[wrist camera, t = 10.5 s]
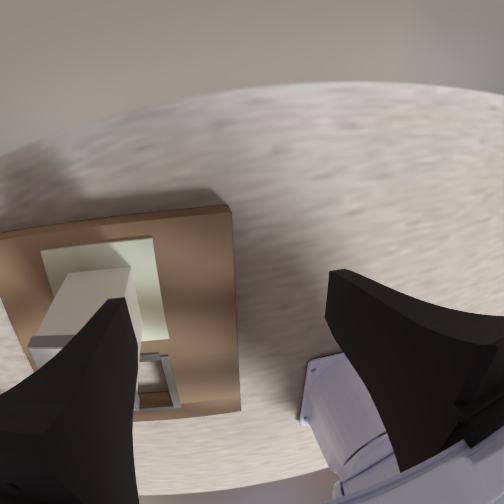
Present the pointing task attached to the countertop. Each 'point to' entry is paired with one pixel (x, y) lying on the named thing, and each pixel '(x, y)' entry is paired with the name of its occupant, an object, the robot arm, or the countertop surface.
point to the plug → (84, 311)
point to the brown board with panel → (144, 295)
